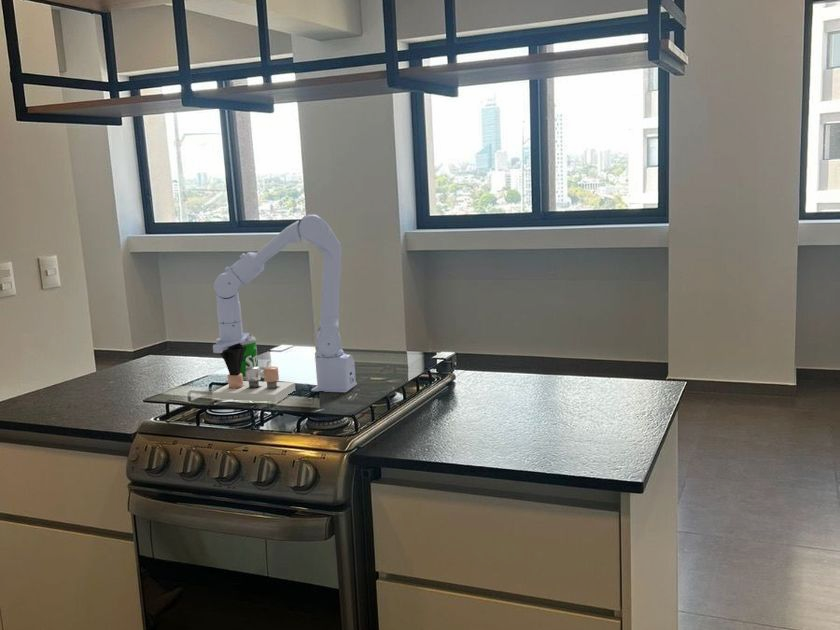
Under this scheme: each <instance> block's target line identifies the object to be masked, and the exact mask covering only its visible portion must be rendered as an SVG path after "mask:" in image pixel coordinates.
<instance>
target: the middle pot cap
mask: <svg viewBox="0 0 840 630" xmlns="http://www.w3.org/2000/svg"><path fill="white" fill-rule="evenodd" d="M245 375H246V381H249V388H250V389H254V388H258V387H259V381H260V380H261V379H262V378H261V377H262V376H261V367H260V366H259V365H258V366H250V367H246V368H245Z"/></svg>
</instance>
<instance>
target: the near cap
mask: <svg viewBox="0 0 840 630" xmlns="http://www.w3.org/2000/svg"><path fill="white" fill-rule="evenodd" d="M262 371H263V382H267V389H276V388H277V382H279V380H280V375H279V367H278V366H275V365H274V366H265V367H263V368H262Z"/></svg>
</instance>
